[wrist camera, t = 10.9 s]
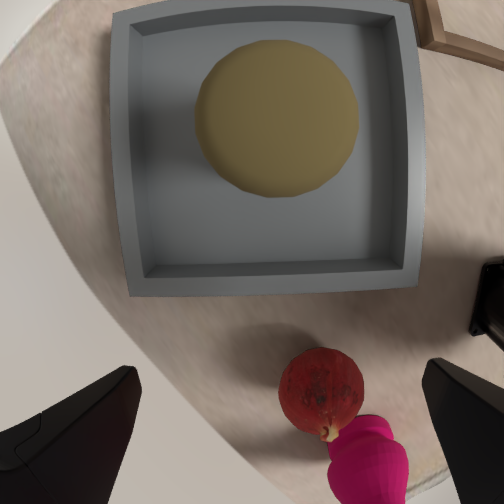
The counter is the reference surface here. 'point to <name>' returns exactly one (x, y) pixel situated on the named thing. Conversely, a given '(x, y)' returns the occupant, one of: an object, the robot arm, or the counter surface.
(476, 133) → the counter surface
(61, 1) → the counter surface
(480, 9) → the counter surface
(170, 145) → the gray square tray
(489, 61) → the frame
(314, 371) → the pomegranate
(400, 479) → the pepper mill
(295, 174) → the olive shaker
